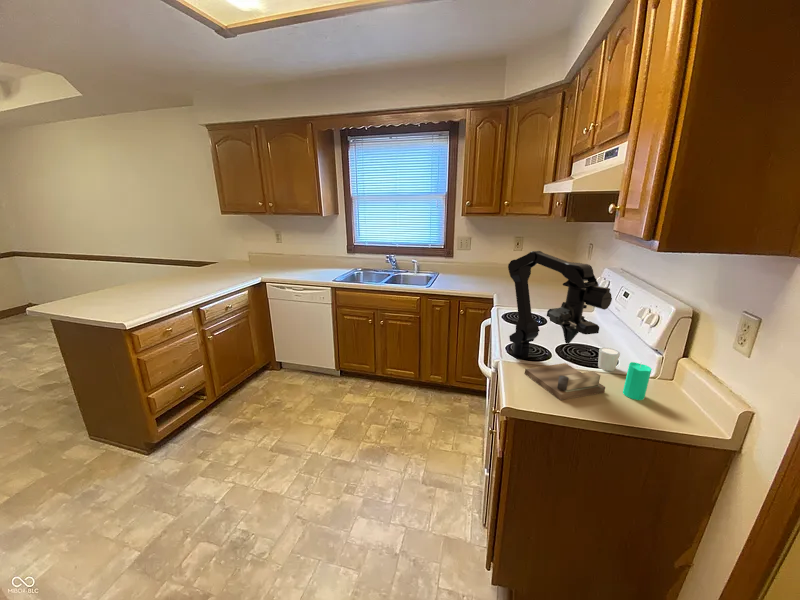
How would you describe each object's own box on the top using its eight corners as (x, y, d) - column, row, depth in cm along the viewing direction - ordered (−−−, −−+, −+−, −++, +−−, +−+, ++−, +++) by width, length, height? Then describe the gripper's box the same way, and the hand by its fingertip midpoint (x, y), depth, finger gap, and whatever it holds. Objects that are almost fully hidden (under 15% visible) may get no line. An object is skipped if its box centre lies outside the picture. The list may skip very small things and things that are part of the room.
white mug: (619, 372, 129) (623, 355, 128) (599, 370, 131) (603, 353, 129) (612, 364, 136) (616, 348, 134) (593, 362, 137) (596, 346, 135)
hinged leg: (561, 391, 111) (563, 380, 110) (555, 386, 114) (556, 375, 113) (598, 384, 115) (600, 374, 114) (591, 380, 118) (593, 370, 117)
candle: (618, 392, 116) (625, 359, 113) (630, 389, 118) (638, 356, 115) (636, 401, 111) (644, 367, 107) (648, 398, 113) (657, 364, 110)
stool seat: (524, 373, 127) (525, 368, 126) (564, 367, 132) (565, 362, 132) (560, 400, 110) (561, 394, 110) (604, 392, 116) (605, 386, 115)
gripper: (537, 294, 125) (531, 334, 129) (576, 311, 108) (567, 357, 112) (563, 293, 128) (556, 332, 132) (604, 309, 111) (595, 353, 115)
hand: (567, 343), depth 123 cm, fingers closed
